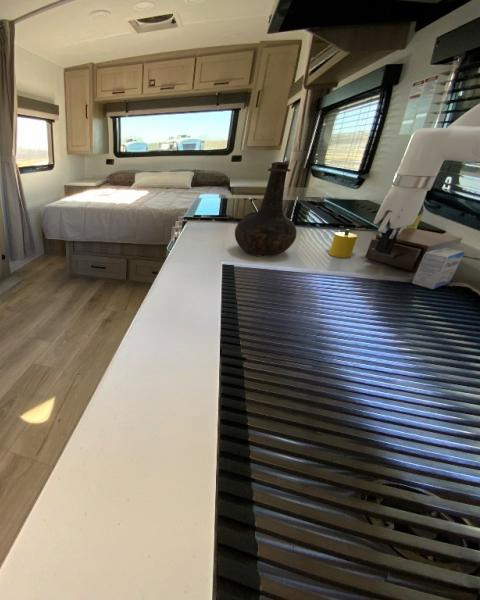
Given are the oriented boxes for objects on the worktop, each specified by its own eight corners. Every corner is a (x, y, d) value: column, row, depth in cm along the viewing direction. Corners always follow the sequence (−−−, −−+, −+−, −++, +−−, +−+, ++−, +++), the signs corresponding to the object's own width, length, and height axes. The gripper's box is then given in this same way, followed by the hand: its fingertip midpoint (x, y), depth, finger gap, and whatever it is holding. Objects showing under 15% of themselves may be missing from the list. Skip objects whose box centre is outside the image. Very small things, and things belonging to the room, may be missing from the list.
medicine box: (432, 290, 82) (449, 257, 78) (410, 283, 85) (425, 251, 81) (449, 283, 84) (466, 251, 80) (427, 277, 88) (442, 246, 84)
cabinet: (416, 272, 91) (428, 246, 88) (367, 258, 102) (376, 234, 98) (449, 263, 96) (462, 237, 93) (399, 250, 107) (409, 227, 103)
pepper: (354, 256, 104) (363, 230, 100) (342, 258, 102) (350, 233, 99) (337, 251, 109) (345, 226, 105) (324, 253, 107) (332, 228, 103)
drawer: (399, 272, 89) (408, 252, 87) (355, 259, 99) (361, 241, 96) (441, 261, 95) (450, 242, 92) (395, 250, 105) (402, 232, 102)
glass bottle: (260, 241, 120) (278, 158, 108) (304, 256, 105) (331, 162, 93) (220, 248, 116) (233, 162, 103) (259, 265, 101) (281, 166, 88)
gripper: (412, 178, 89) (384, 244, 98) (377, 182, 84) (351, 250, 93) (448, 182, 83) (414, 251, 92) (413, 186, 78) (381, 259, 87)
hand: (382, 251), depth 92 cm, fingers closed
